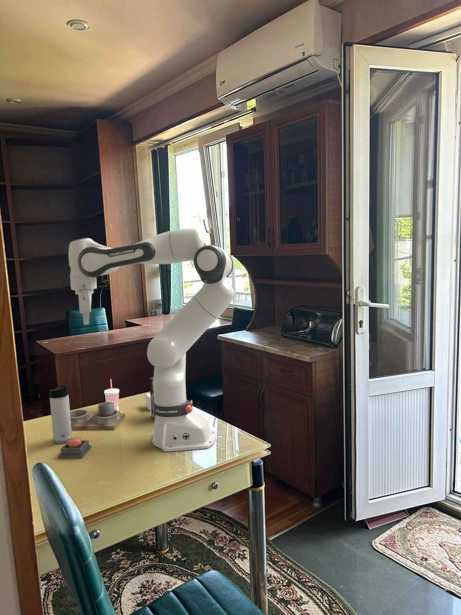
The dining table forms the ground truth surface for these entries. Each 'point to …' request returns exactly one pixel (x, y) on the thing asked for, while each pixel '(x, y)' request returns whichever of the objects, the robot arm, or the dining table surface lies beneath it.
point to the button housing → (75, 450)
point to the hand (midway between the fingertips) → (86, 322)
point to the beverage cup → (112, 396)
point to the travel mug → (60, 414)
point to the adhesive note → (148, 401)
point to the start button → (74, 442)
